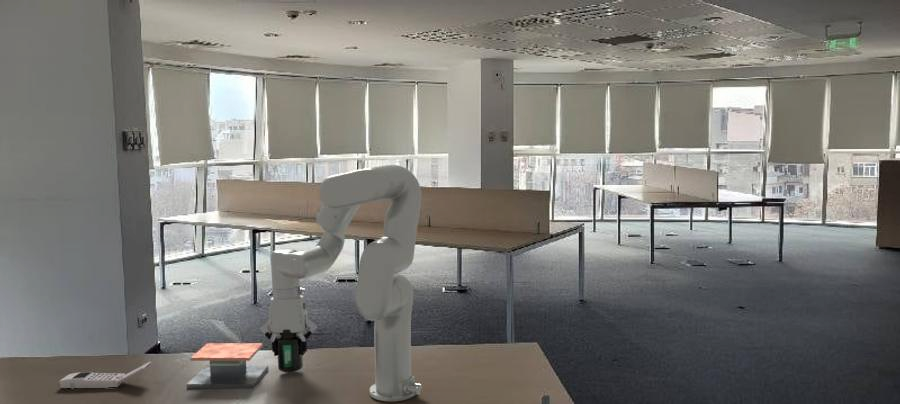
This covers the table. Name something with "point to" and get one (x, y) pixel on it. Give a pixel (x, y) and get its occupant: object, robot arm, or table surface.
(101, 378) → the mobile phone
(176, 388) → the table surface
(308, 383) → the table surface
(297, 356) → the supplement bottle
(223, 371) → the stand
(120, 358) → the table surface
